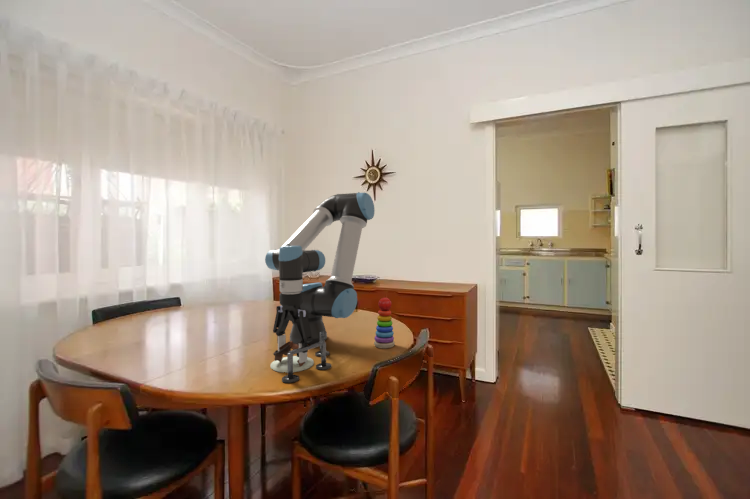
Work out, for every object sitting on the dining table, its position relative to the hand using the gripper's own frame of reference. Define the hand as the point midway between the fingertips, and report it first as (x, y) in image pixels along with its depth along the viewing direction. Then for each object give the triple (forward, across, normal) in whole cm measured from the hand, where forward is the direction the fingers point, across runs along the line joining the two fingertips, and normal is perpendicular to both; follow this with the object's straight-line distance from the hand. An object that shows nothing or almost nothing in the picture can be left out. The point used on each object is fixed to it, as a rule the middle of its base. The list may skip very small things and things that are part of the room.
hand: (292, 358), depth 118 cm
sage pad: (+2, 0, 0) cm, 2 cm away
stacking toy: (+2, +11, +35) cm, 37 cm away
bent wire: (+2, +5, +2) cm, 6 cm away
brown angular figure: (+2, 0, 0) cm, 2 cm away
